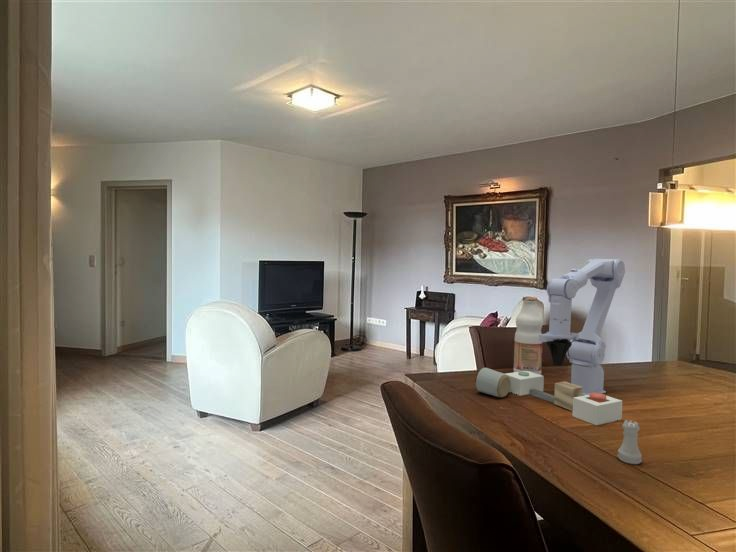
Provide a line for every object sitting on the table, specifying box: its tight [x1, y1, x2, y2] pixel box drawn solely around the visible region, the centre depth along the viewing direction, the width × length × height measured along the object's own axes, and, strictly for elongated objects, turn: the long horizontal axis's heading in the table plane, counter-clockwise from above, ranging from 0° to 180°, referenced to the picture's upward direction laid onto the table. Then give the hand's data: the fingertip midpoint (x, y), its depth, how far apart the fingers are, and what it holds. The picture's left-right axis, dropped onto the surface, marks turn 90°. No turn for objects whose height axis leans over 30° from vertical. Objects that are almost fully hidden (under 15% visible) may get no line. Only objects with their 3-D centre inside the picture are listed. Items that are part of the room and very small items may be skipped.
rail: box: [529, 389, 554, 404], centre depth 127 cm, size 2×18×2 cm, turn 26°
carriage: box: [553, 381, 583, 412], centre depth 123 cm, size 4×6×6 cm, turn 26°
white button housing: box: [571, 395, 623, 426], centre depth 115 cm, size 10×7×5 cm
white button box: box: [505, 371, 545, 396], centre depth 138 cm, size 10×7×6 cm
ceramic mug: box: [475, 367, 511, 398], centre depth 134 cm, size 11×8×8 cm
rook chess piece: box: [616, 419, 643, 465], centre depth 91 cm, size 4×4×8 cm
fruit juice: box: [513, 296, 544, 375], centre depth 157 cm, size 9×9×28 cm
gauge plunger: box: [589, 392, 607, 403], centre depth 115 cm, size 4×4×4 cm
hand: (557, 364), depth 129 cm, fingers closed
